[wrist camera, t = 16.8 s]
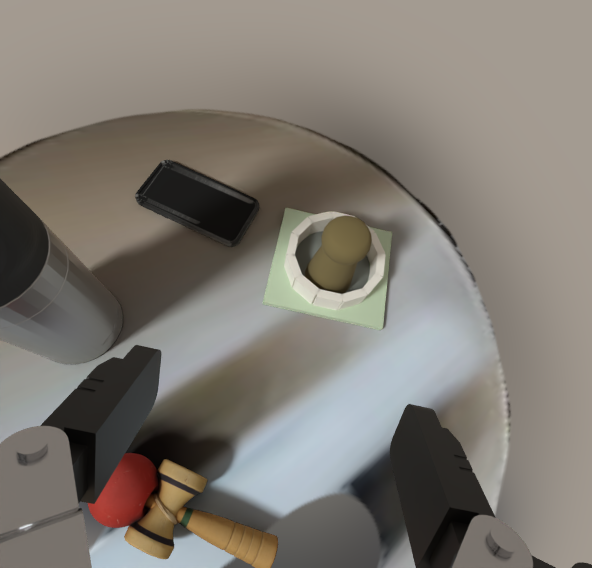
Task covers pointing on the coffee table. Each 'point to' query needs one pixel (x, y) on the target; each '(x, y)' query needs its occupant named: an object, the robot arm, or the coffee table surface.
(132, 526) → the kendama
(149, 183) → the phone
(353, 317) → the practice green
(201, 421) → the coffee table surface
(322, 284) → the cork
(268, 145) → the coffee table surface
